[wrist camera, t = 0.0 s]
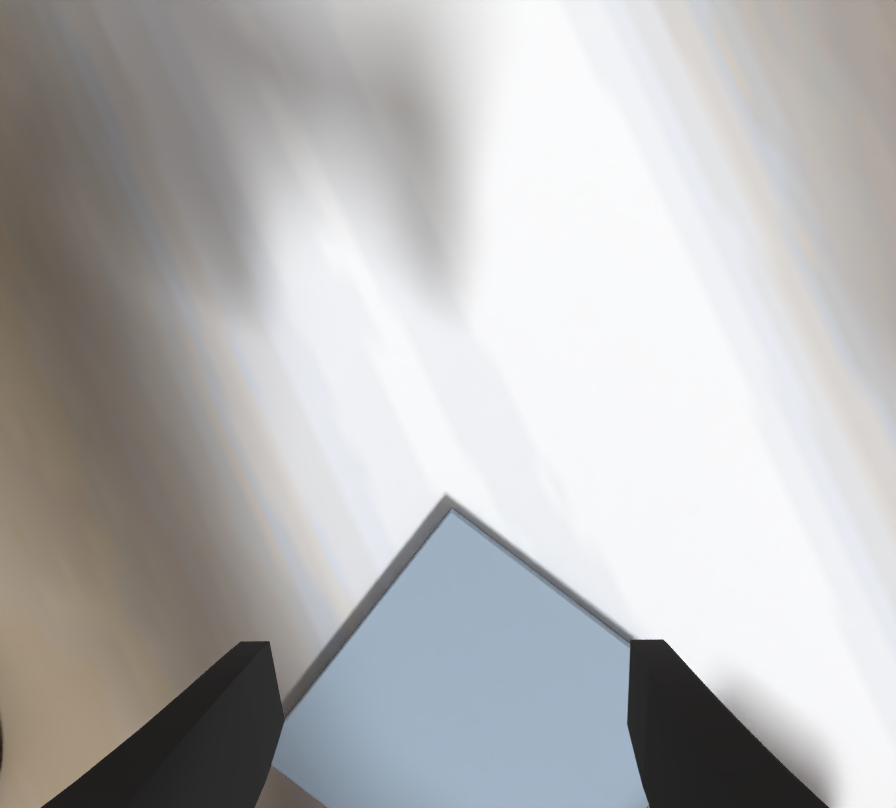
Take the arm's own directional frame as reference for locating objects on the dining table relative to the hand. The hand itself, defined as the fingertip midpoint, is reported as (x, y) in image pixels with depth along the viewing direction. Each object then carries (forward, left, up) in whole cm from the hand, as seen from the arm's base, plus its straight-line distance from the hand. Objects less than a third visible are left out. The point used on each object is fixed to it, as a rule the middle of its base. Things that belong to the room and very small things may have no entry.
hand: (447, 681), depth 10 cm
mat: (-7, -6, -11) cm, 14 cm away
